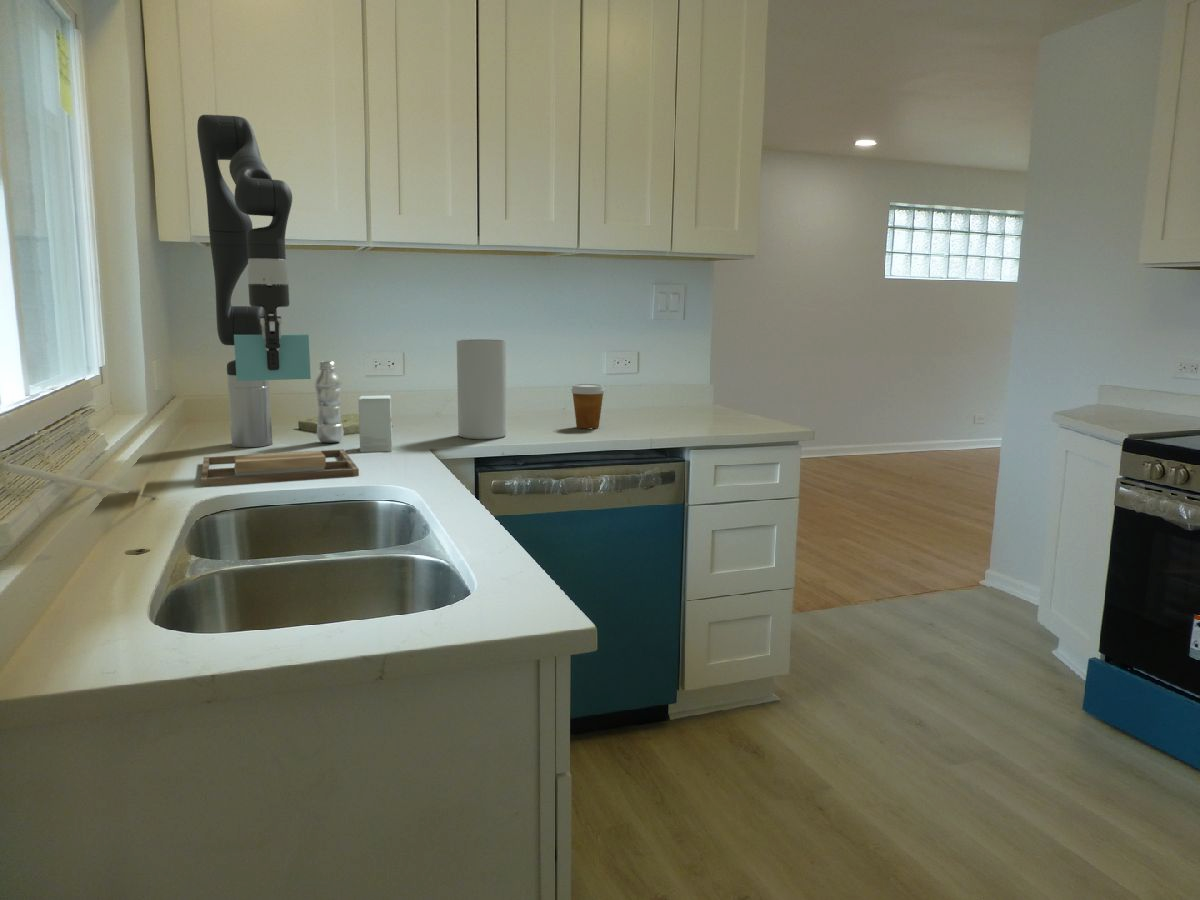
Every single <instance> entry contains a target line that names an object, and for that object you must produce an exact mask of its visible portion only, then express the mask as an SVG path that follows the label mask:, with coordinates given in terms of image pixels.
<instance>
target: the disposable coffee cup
mask: <svg viewBox="0 0 1200 900" xmlns="http://www.w3.org/2000/svg"><path fill="white" fill-rule="evenodd" d="M570 391H571V393H572V399H573V408H574V415H575V425H576V428H577V427H578V428H577V429H580V428H596V429H599V428H598V427H600V421H601V413H602V405H603V399H604V398H603V396H604V394H605V391H606V390H605V387H604V385H603V384H598V383H576V384H573V385H572V387H571V389H570Z"/></svg>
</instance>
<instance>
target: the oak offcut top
mask: <svg viewBox="0 0 1200 900" xmlns="http://www.w3.org/2000/svg"><path fill="white" fill-rule="evenodd" d="M321 451H322V450H311V451H310V450H309V452H306V451H292V452H293V453H288V452H275V453H276V454H271V453H259V454H260V455H253V454H242V455H243V456H236V455H233V456H234V457H235V463H234V466H235V468H236V472H237V473H238V472H253V471H268V470H283V469H297V468H312V467H326V462H327V461H326V459H327V457H325V455H324V454H323V453H322V452H321Z"/></svg>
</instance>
